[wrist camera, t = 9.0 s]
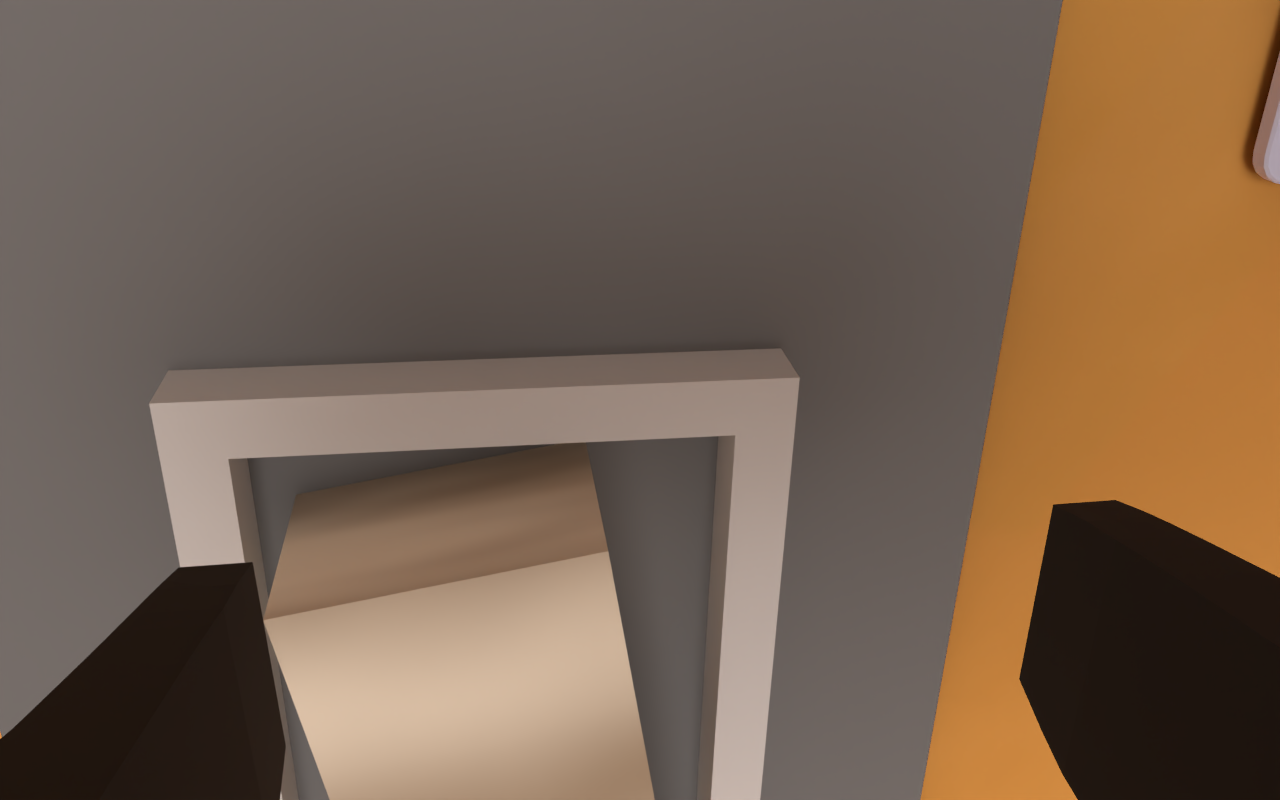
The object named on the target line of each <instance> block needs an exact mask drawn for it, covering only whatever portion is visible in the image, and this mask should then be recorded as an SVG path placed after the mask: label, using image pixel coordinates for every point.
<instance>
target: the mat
mask: <svg viewBox="0 0 1280 800" xmlns="http://www.w3.org/2000/svg"><path fill="white" fill-rule="evenodd" d="M1062 1H1063V0H0V732H1V735H2V737H3V736H5V735H6V734H7V733H8V732H9V731H10V730H11V729H12V728H14V727H15V726H16V725H17V724H18V723H19V722H20V721H21V720H22V719H23V718H24V717H25V716H26V715H27V714H28V713H29V712H31V711H32V710H33V709H34V708H35V707H36V706H37V705H38V704H39V703H40V702H41V701H42V700H43V699H44V698H45V697H46V696H47V695H48V694H49V693H50V692H51V691H52V690H53V689H54V688H55V687H57V686H58V685H59V684H60V683H61V682H62V681H63V680H64V679H65V678H66V677H67V676H68V675H69V674H70V673H71V672H72V671H73V670H74V669H75V668H76V667H77V666H78V665H79V664H80V663H82V662H83V661H84V660H85V659H86V658H87V657H88V656H89V655H90V654H91V653H92V652H93V651H94V650H95V649H96V648H97V647H98V646H99V645H100V644H101V643H102V642H103V641H104V640H105V639H106V638H107V637H108V636H109V635H110V634H111V633H112V632H113V631H114V630H115V629H116V628H117V627H118V626H119V625H120V624H121V623H122V622H123V621H124V620H125V619H126V618H127V617H128V616H129V615H130V614H131V613H132V612H133V611H134V610H135V609H136V608H137V607H138V606H139V605H140V604H141V603H142V602H143V601H144V600H145V599H146V598H147V597H148V596H149V595H150V594H151V593H152V592H153V591H154V590H155V589H156V588H157V587H158V586H159V585H160V584H161V583H162V582H163V581H164V580H165V579H167V578H168V577H169V576H170V575H171V574H172V573H173V572H174V571H175V570H176V569H177V568H178V567H191V566H205V565H219V564H233V563H247V562H253V566H254V572H255V577H256V583H257V589H258V594H259V600H260V605H261V611H262V616H263V619H264V615H265V611H266V607H267V604H268V600H269V596H270V592H271V588H272V585H273V581H274V577H275V573H276V570H277V566H278V562H279V558H280V554H281V551H282V547H283V543H284V539H285V535H286V532H287V528H288V524H289V520H290V517H291V513H292V509H293V505H294V501H295V498H296V495H297V494H302V493H307V492H313V491H318V490H323V489H328V488H333V487H338V486H344V485H349V484H354V483H359V482H364V481H369V480H375V479H380V478H385V477H390V476H395V475H400V474H406V473H411V472H416V471H421V470H426V469H431V468H437V467H442V466H447V465H452V464H457V463H462V462H468V461H473V460H478V459H483V458H488V457H493V456H499V455H504V454H509V453H514V452H519V451H524V450H529V449H535V448H540V447H545V446H550V445H555V444H560V443H582V442H586V446H587V451H588V455H589V460H590V465H591V470H592V475H593V480H594V484H595V489H596V494H597V499H598V504H599V509H600V513H601V518H602V523H603V528H604V533H605V538H606V543H607V547H608V552H609V558H610V563H611V568H612V574H613V579H614V584H615V590H616V595H617V600H618V606H619V611H620V616H621V622H622V627H623V633H624V638H625V643H626V649H627V654H628V659H629V665H630V670H631V675H632V681H633V686H634V691H635V697H636V702H637V707H638V713H639V718H640V723H641V729H642V734H643V739H644V745H645V750H646V756H647V761H648V766H649V772H650V777H651V782H652V788H653V793H654V798H655V800H920V798H921V793H922V787H923V781H924V776H925V770H926V765H927V759H928V753H929V748H930V742H931V736H932V731H933V725H934V720H935V714H936V708H937V703H938V697H939V692H940V686H941V680H942V675H943V669H944V663H945V658H946V652H947V647H948V641H949V635H950V630H951V624H952V619H953V613H954V607H955V602H956V596H957V590H958V585H959V579H960V574H961V568H962V562H963V557H964V551H965V546H966V540H967V534H968V529H969V523H970V518H971V512H972V506H973V501H974V495H975V489H976V484H977V478H978V473H979V467H980V461H981V456H982V450H983V445H984V439H985V433H986V428H987V422H988V416H989V411H990V405H991V400H992V394H993V388H994V383H995V377H996V372H997V366H998V360H999V355H1000V349H1001V343H1002V338H1003V332H1004V327H1005V321H1006V315H1007V310H1008V304H1009V299H1010V293H1011V287H1012V282H1013V276H1014V270H1015V265H1016V259H1017V254H1018V248H1019V242H1020V237H1021V231H1022V226H1023V220H1024V214H1025V209H1026V203H1027V197H1028V192H1029V186H1030V181H1031V175H1032V169H1033V164H1034V158H1035V153H1036V147H1037V141H1038V136H1039V130H1040V124H1041V119H1042V113H1043V108H1044V102H1045V96H1046V91H1047V85H1048V80H1049V74H1050V68H1051V63H1052V57H1053V52H1054V46H1055V40H1056V35H1057V29H1058V23H1059V18H1060V12H1061V7H1062ZM263 622H264V621H263ZM264 627H265V624H264ZM265 633H266V638H267V644H268V649H269V655H270V660H271V666H272V672H273V677H274V683H275V688H276V694H277V699H278V705H279V710H280V716H281V721H282V727H283V732H284V738H285V743H286V750H285V759H284V768H283V777H282V785H281V794H280V800H330V799H329V796H328V794H327V791H326V788H325V786H324V783H323V780H322V778H321V775H320V772H319V770H318V767H317V764H316V761H315V759H314V756H313V753H312V751H311V748H310V745H309V743H308V740H307V737H306V735H305V732H304V729H303V726H302V724H301V721H300V718H299V716H298V713H297V710H296V708H295V705H294V702H293V700H292V697H291V694H290V691H289V689H288V686H287V683H286V681H285V678H284V675H283V673H282V670H281V667H280V665H279V662H278V659H277V656H276V654H275V651H274V648H273V646H272V643H271V640H270V638H269V635H268V632H267V630H266V627H265Z"/></svg>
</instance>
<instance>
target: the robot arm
mask: <svg viewBox="0 0 1280 800" xmlns="http://www.w3.org/2000/svg"><path fill="white" fill-rule="evenodd" d="M1252 163H1253V166H1254V169H1255V171H1256V173H1257V174H1258V175H1260V176H1261V177H1262V178H1263V179H1266V180H1268V181H1271V182H1273V183H1277V184H1280V52H1279V56H1278V60H1277V64H1276V68H1275V71H1274V75H1273V79H1272V83H1271V87H1270V90H1269V94H1268V98H1267V102H1266V105H1265V109H1264V113H1263V117H1262V121H1261V124H1260V128H1259V132H1258V136H1257V140H1256V143H1255V147H1254V151H1253V162H1252ZM1019 679H1020V681H1021V684H1022V686H1023V688H1024V691H1025V693H1026V695H1027V698H1028V700H1029V702H1030V705H1031V707H1032V709H1033V711H1034V714H1035V716H1036V718H1037V721H1038V723H1039V725H1040V728H1041V730H1042V732H1043V734H1044V736H1045V738H1046V740H1047V743H1048V745H1049V747H1050V749H1051V751H1052V753H1053V755H1054V757H1055V759H1056V761H1057V763H1058V766H1059V768H1060V770H1061V772H1062V774H1063V776H1064V777H1065V779H1066V781H1067V782H1068V784H1069V786H1070V787H1071V789H1072V791H1073V792H1074V794H1075V796H1076V797H1077V799H1078V800H1280V578H1279V577H1277V576H1275V575H1273V574H1271V573H1269V572H1267V571H1265V570H1263V569H1261V568H1259V567H1257V566H1255V565H1253V564H1251V563H1249V562H1247V561H1245V560H1243V559H1241V558H1239V557H1237V556H1235V555H1233V554H1231V553H1229V552H1227V551H1225V550H1223V549H1221V548H1219V547H1217V546H1215V545H1213V544H1211V543H1209V542H1207V541H1205V540H1203V539H1201V538H1199V537H1197V536H1195V535H1193V534H1191V533H1189V532H1187V531H1185V530H1183V529H1181V528H1179V527H1177V526H1175V525H1172V524H1170V523H1168V522H1166V521H1164V520H1162V519H1159V518H1157V517H1155V516H1153V515H1151V514H1148V513H1146V512H1144V511H1141V510H1139V509H1137V508H1134V507H1132V506H1129V505H1126V504H1124V503H1121V502H1119V501H1116V500H1111V501H1097V502H1083V503H1069V504H1055V505H1053V509H1052V514H1051V519H1050V525H1049V530H1048V535H1047V540H1046V545H1045V550H1044V555H1043V560H1042V566H1041V571H1040V576H1039V581H1038V586H1037V591H1036V596H1035V601H1034V606H1033V612H1032V617H1031V622H1030V627H1029V632H1028V637H1027V642H1026V647H1025V653H1024V658H1023V663H1022V668H1021V673H1020V678H1019ZM285 750H286V743H285V738H284V732H283V727H282V721H281V716H280V710H279V705H278V699H277V694H276V688H275V683H274V677H273V672H272V666H271V660H270V655H269V649H268V644H267V638H266V633H265V627H264V622H263V616H262V611H261V605H260V600H259V594H258V589H257V583H256V577H255V572H254V566H253V562H247V563H233V564H219V565H205V566H191V567H178V568H177V569H176V570H175V571H174V572H173V573H172V574H171V575H170V576H169V577H168V578H167V579H165V580H164V581H163V582H162V583H161V584H160V585H159V586H158V587H157V588H156V589H155V590H154V591H153V592H152V593H151V594H150V595H149V596H148V597H147V598H146V599H145V600H144V601H143V602H142V603H141V604H140V605H139V606H138V607H137V608H136V609H135V610H134V611H133V612H132V613H131V614H130V615H129V616H128V617H127V618H126V619H125V620H124V621H123V622H122V623H121V624H120V625H119V626H118V627H117V628H116V629H115V630H114V631H113V632H112V633H111V634H110V635H109V636H108V637H107V638H106V639H105V640H104V641H103V642H102V643H101V644H100V645H99V646H98V647H97V648H96V649H95V650H94V651H93V652H92V653H91V654H90V655H89V656H88V657H87V658H86V659H85V660H84V661H83V662H82V663H80V664H79V665H78V666H77V667H76V668H75V669H74V670H73V671H72V672H71V673H70V674H69V675H68V676H67V677H66V678H65V679H64V680H63V681H62V682H61V683H60V684H59V685H58V686H57V687H55V688H54V689H53V690H52V691H51V692H50V693H49V694H48V695H47V696H46V697H45V698H44V699H43V700H42V701H41V702H40V703H39V704H38V705H37V706H36V707H35V708H34V709H33V710H32V711H31V712H29V713H28V714H27V715H26V716H25V717H24V718H23V719H22V720H21V721H20V722H19V723H18V724H17V725H16V726H15V727H14V728H12V729H11V730H10V731H9V732H8V733H7V734H6V735H5V736H3V737H2V738H1V739H0V800H280V794H281V785H282V777H283V768H284V759H285Z"/></svg>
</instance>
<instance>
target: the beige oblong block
mask: <svg viewBox="0 0 1280 800" xmlns="http://www.w3.org/2000/svg"><path fill="white" fill-rule="evenodd" d="M263 621H264V624H265V627H266V630H267V632H268V635H269V638H270V640H271V643H272V646H273V648H274V651H275V654H276V656H277V659H278V662H279V665H280V667H281V670H282V673H283V675H284V678H285V681H286V683H287V686H288V689H289V691H290V694H291V697H292V700H293V702H294V705H295V708H296V710H297V713H298V716H299V718H300V721H301V724H302V726H303V729H304V732H305V735H306V737H307V740H308V743H309V745H310V748H311V751H312V753H313V756H314V759H315V761H316V764H317V767H318V770H319V772H320V775H321V778H322V780H323V783H324V786H325V788H326V791H327V794H328V796H329V799H330V800H655V798H654V793H653V788H652V782H651V777H650V772H649V766H648V761H647V756H646V750H645V745H644V739H643V734H642V729H641V723H640V718H639V713H638V707H637V702H636V697H635V691H634V686H633V681H632V675H631V670H630V665H629V659H628V654H627V649H626V643H625V638H624V633H623V627H622V622H621V616H620V611H619V606H618V600H617V595H616V590H615V584H614V579H613V574H612V568H611V563H610V558H609V552H608V547H607V543H606V538H605V533H604V528H603V523H602V518H601V513H600V509H599V504H598V499H597V494H596V489H595V484H594V480H593V475H592V470H591V465H590V460H589V455H588V451H587V446H586V442H582V443H560V444H555V445H550V446H545V447H540V448H535V449H529V450H524V451H519V452H514V453H509V454H504V455H499V456H493V457H488V458H483V459H478V460H473V461H468V462H462V463H457V464H452V465H447V466H442V467H437V468H431V469H426V470H421V471H416V472H411V473H406V474H400V475H395V476H390V477H385V478H380V479H375V480H369V481H364V482H359V483H354V484H349V485H344V486H338V487H333V488H328V489H323V490H318V491H313V492H307V493H302V494H297V495H296V498H295V501H294V505H293V509H292V513H291V517H290V520H289V524H288V528H287V532H286V535H285V539H284V543H283V547H282V551H281V554H280V558H279V562H278V566H277V570H276V573H275V577H274V581H273V585H272V588H271V592H270V596H269V600H268V604H267V607H266V611H265V615H264V619H263Z"/></svg>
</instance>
